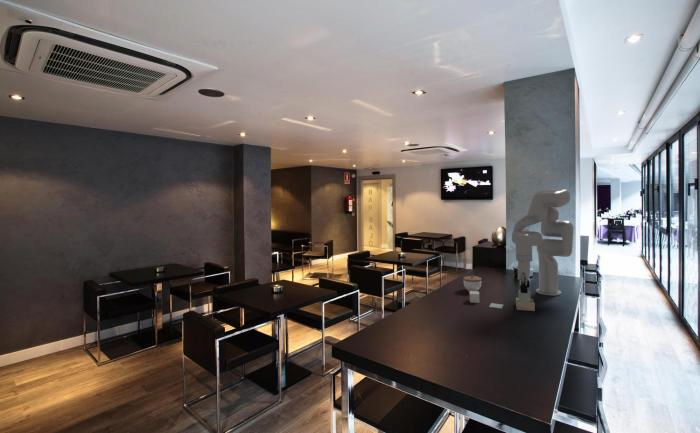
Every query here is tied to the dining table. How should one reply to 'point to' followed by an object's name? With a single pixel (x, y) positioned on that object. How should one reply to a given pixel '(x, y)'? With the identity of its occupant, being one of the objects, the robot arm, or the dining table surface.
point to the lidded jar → (472, 283)
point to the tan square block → (525, 305)
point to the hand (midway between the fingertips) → (525, 290)
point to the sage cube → (524, 297)
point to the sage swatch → (496, 305)
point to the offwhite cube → (474, 296)
